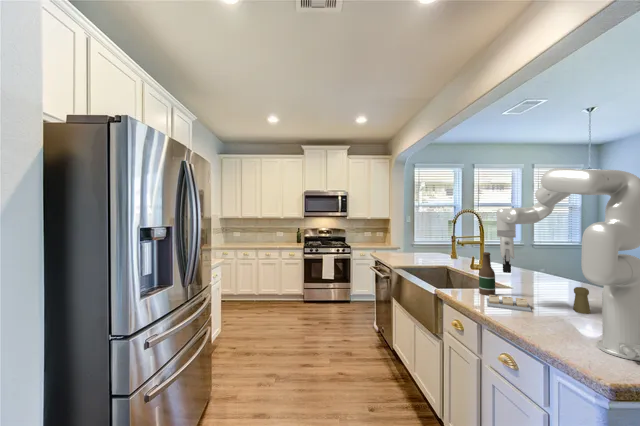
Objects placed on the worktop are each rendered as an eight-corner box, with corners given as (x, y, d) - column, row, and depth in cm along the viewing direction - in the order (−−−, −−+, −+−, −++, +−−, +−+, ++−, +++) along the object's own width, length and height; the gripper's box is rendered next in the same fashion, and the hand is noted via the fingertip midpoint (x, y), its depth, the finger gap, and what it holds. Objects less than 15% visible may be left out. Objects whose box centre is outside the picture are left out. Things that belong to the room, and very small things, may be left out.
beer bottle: (476, 295, 158) (475, 252, 158) (485, 293, 161) (484, 251, 161) (489, 299, 151) (488, 253, 151) (498, 297, 154) (498, 252, 154)
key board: (531, 315, 126) (531, 310, 126) (487, 309, 135) (487, 305, 135) (527, 306, 138) (527, 302, 138) (486, 301, 146) (486, 298, 146)
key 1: (527, 308, 131) (527, 300, 131) (516, 307, 133) (516, 299, 133) (526, 306, 134) (526, 298, 134) (515, 305, 136) (515, 297, 136)
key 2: (513, 307, 133) (512, 299, 134) (502, 305, 135) (502, 298, 135) (512, 304, 137) (512, 297, 137) (502, 303, 139) (502, 296, 139)
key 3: (499, 305, 136) (499, 297, 136) (489, 304, 138) (489, 296, 138) (498, 303, 140) (498, 295, 140) (489, 302, 142) (489, 294, 142)
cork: (594, 314, 126) (593, 289, 126) (578, 313, 128) (578, 289, 128) (584, 309, 132) (584, 286, 132) (569, 309, 133) (569, 285, 134)
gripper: (517, 235, 128) (518, 276, 128) (513, 233, 141) (514, 270, 141) (497, 235, 132) (498, 274, 132) (496, 233, 145) (496, 269, 145)
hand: (506, 272), depth 136 cm, fingers closed
